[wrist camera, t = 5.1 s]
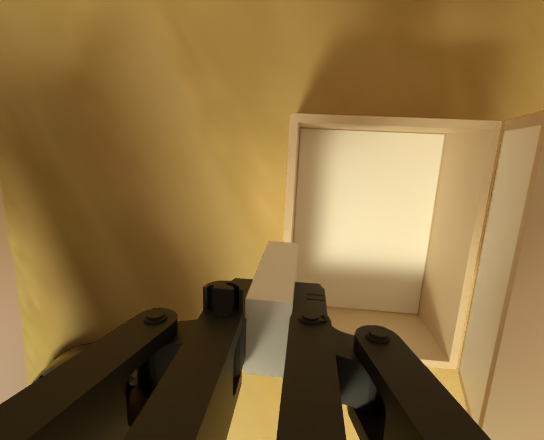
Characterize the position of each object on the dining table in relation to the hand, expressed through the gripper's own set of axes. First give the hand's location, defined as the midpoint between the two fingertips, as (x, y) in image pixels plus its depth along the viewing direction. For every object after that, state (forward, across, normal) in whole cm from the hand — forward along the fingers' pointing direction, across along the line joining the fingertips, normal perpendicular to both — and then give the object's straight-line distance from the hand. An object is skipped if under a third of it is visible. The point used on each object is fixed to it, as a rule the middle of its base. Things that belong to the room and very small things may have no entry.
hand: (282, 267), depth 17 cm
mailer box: (+12, +6, 0) cm, 13 cm away
